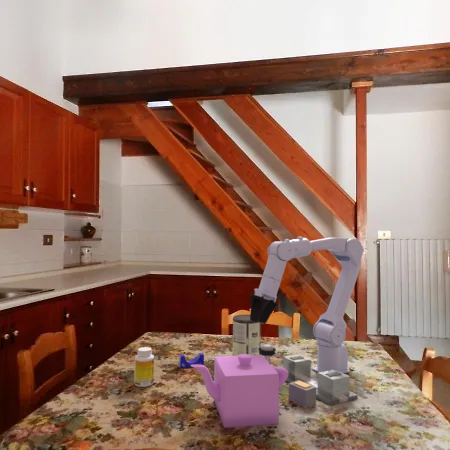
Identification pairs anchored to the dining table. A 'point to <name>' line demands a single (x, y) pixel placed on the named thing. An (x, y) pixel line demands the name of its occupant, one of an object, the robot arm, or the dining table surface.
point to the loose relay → (302, 393)
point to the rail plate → (319, 380)
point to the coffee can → (246, 335)
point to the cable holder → (196, 360)
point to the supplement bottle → (144, 367)
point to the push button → (267, 351)
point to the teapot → (245, 389)
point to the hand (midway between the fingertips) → (257, 322)
